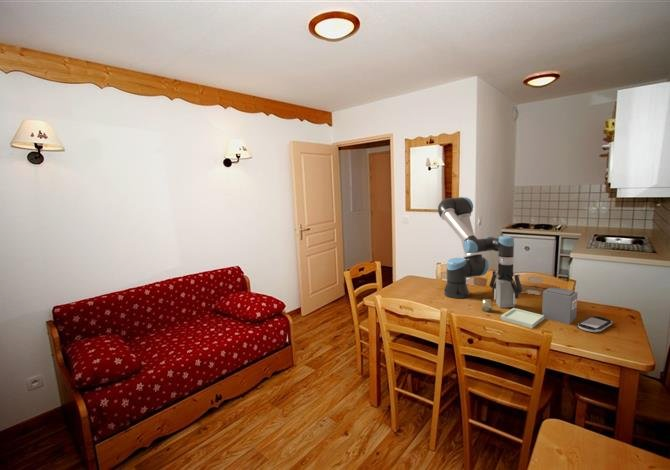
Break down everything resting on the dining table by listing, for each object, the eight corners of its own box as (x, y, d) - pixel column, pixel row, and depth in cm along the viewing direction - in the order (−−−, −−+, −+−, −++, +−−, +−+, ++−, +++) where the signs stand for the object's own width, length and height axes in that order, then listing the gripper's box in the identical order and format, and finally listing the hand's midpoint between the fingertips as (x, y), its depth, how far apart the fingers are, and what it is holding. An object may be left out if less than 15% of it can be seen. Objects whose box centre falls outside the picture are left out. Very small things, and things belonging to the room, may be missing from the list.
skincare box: (509, 303, 186) (510, 277, 184) (515, 308, 179) (516, 281, 177) (494, 303, 187) (495, 277, 184) (499, 308, 180) (500, 281, 177)
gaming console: (596, 336, 145) (596, 330, 144) (573, 328, 152) (574, 323, 152) (614, 324, 154) (615, 319, 153) (592, 318, 162) (593, 313, 161)
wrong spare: (480, 310, 179) (480, 300, 178) (484, 308, 182) (484, 298, 181) (489, 313, 175) (489, 302, 174) (493, 310, 178) (493, 300, 177)
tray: (500, 319, 166) (500, 315, 166) (513, 311, 175) (513, 307, 175) (532, 328, 154) (532, 324, 154) (544, 319, 163) (544, 315, 163)
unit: (541, 317, 165) (543, 290, 163) (549, 311, 171) (550, 285, 169) (570, 324, 156) (571, 296, 154) (577, 318, 162) (578, 291, 160)
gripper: (483, 261, 186) (482, 298, 189) (524, 268, 168) (523, 308, 171) (489, 259, 190) (488, 295, 194) (530, 265, 173) (529, 304, 176)
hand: (505, 301), depth 183 cm, fingers closed on skincare box, 10 cm apart
